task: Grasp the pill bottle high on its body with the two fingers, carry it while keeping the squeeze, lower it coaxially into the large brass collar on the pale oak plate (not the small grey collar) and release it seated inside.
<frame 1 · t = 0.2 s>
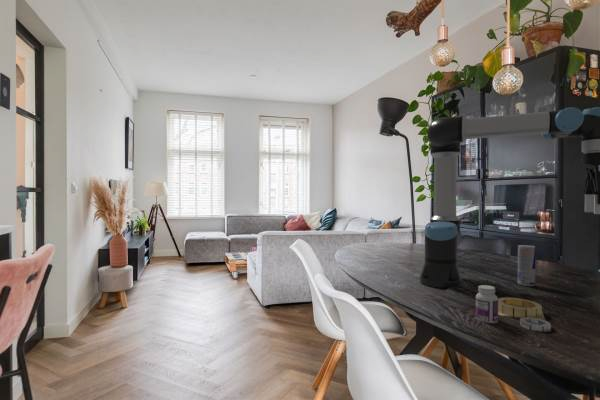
hand: (594, 213, 125), 28 cm above the table, fingers open, 13 cm apart
beverage can: (526, 285, 134), on the table
pill bottle: (486, 323, 96), on the table
brass collar: (518, 311, 102), resting on oak plate
grey collar: (535, 329, 90), on the table
oak plate: (518, 314, 102), on the table
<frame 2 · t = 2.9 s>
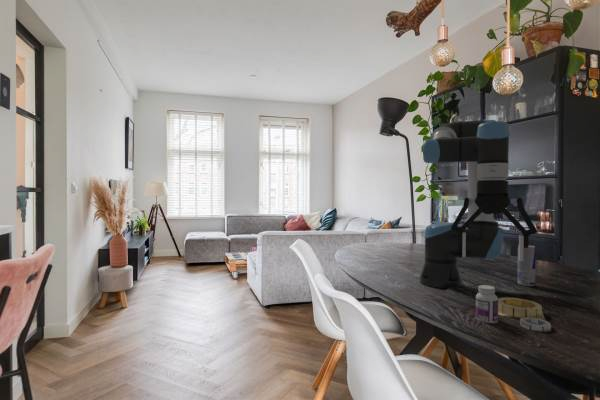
hand: (491, 258, 96), 17 cm above the table, fingers open, 13 cm apart
nothing on the table moved.
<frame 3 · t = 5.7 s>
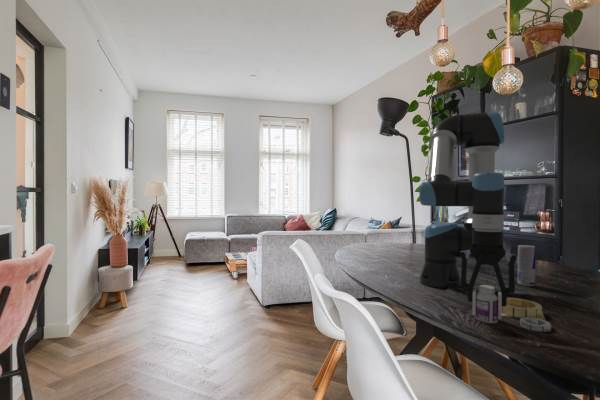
hand: (486, 315, 96), 2 cm above the table, fingers closed on pill bottle, 5 cm apart
pill bottle: (486, 322, 96), on the table, touching gripper
everything else where it was.
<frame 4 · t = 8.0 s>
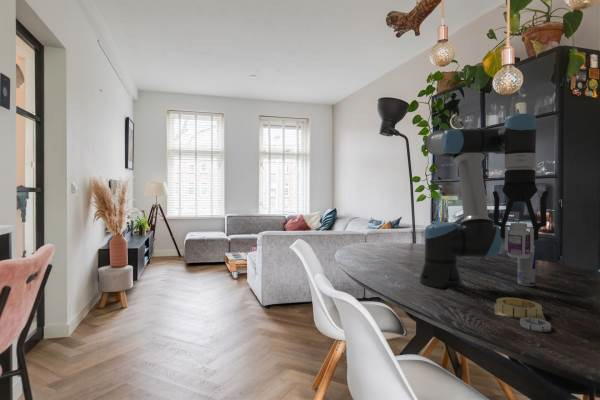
hand: (518, 250, 101), 19 cm above the table, fingers closed on pill bottle, 5 cm apart
pill bottle: (518, 257, 101), point 16 cm above the table, touching gripper
everything else where it was.
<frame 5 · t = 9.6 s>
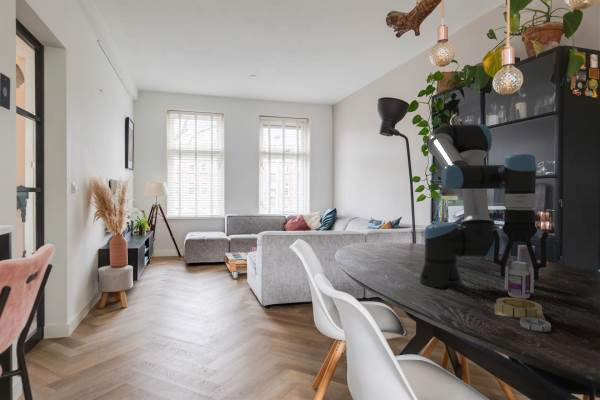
hand: (518, 289, 101), 7 cm above the table, fingers closed on pill bottle, 5 cm apart
pill bottle: (518, 296, 101), point 5 cm above the table, touching gripper
everything else where it was.
when the fingers open (5 cm above the table, at t = 10.8 s): pill bottle drops 2 cm, resting on oak plate.
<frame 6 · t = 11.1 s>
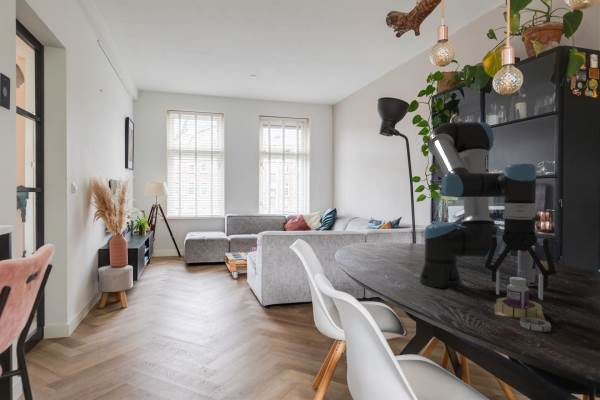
hand: (518, 295, 101), 5 cm above the table, fingers open, 10 cm apart
pill bottle: (517, 312, 102), point 1 cm above the table, touching oak plate
everything else where it was.
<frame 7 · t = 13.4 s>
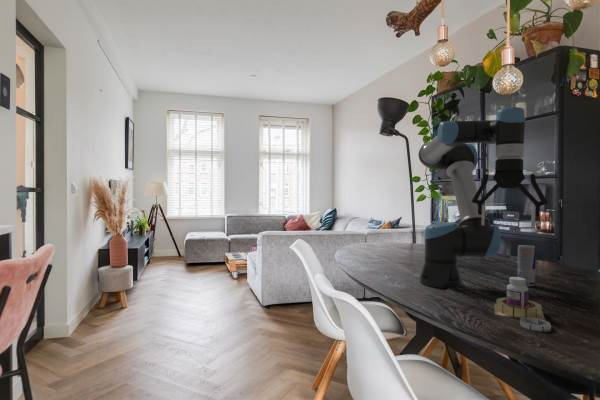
hand: (507, 226, 111), 24 cm above the table, fingers open, 13 cm apart
nothing on the table moved.
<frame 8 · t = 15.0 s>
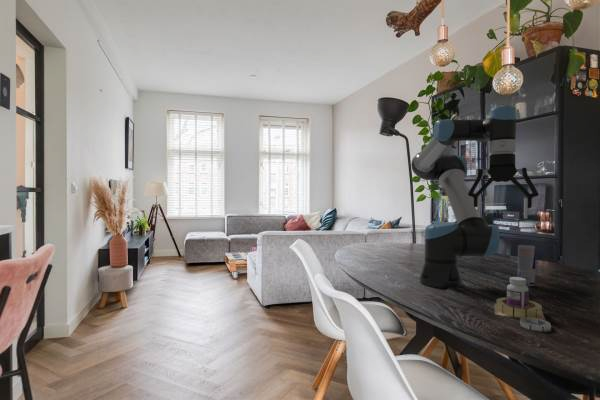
hand: (501, 217, 118), 27 cm above the table, fingers open, 13 cm apart
nothing on the table moved.
at the end: pill bottle 0.2 cm from the brass collar (horizontally); pill bottle tilted 0°; pill bottle point 0.6 cm above the table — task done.
